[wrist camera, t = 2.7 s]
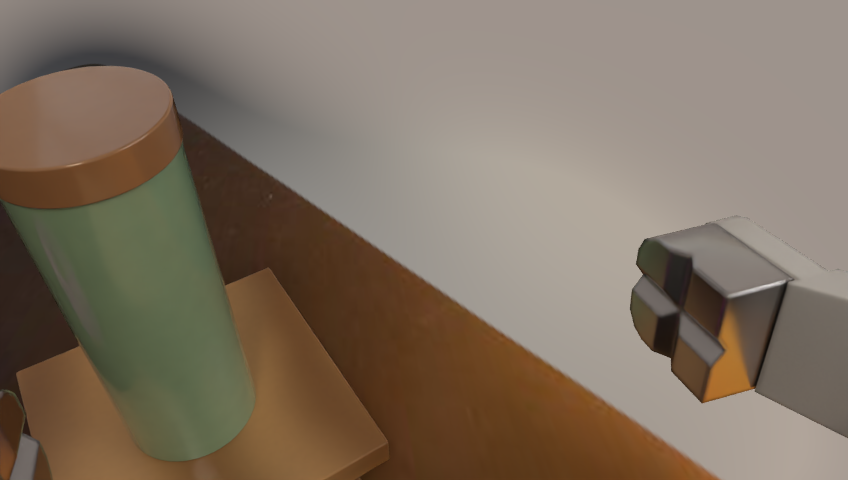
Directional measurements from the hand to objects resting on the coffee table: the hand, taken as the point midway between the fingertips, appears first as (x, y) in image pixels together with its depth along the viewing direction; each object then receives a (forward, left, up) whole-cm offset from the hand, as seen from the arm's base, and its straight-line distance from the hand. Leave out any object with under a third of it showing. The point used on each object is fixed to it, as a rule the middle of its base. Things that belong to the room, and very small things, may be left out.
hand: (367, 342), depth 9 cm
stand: (+2, -12, -21) cm, 25 cm away
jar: (+2, -12, -15) cm, 20 cm away
